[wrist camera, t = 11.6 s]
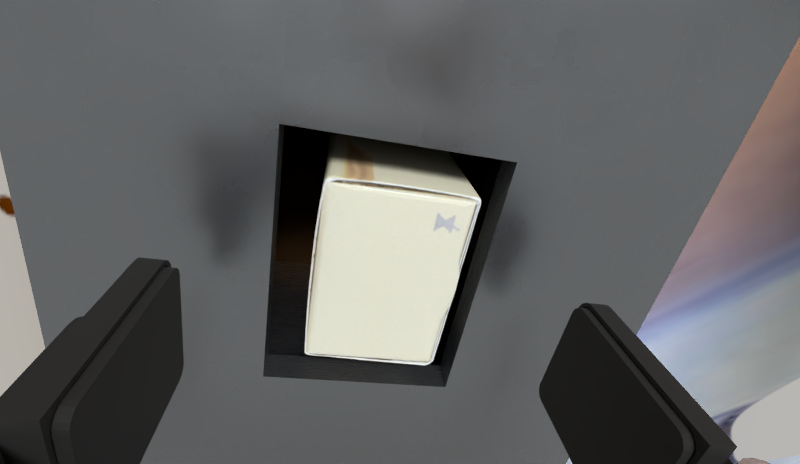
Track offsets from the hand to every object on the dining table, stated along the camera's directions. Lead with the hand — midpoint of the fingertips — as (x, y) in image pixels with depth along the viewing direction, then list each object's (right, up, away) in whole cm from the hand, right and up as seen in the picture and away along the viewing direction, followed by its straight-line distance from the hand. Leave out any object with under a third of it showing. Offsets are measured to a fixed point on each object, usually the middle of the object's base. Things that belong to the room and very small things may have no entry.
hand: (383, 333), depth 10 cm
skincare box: (-1, +7, +13) cm, 15 cm away
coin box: (-2, +6, +13) cm, 14 cm away
